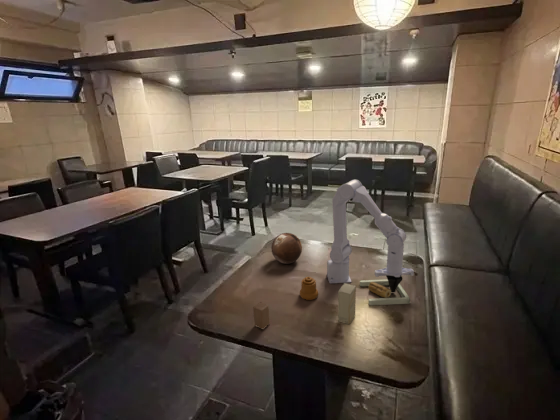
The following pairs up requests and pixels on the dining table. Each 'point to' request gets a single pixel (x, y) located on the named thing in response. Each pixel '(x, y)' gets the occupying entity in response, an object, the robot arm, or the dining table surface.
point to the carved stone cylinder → (379, 290)
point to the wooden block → (261, 315)
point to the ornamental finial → (308, 289)
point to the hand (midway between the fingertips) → (392, 291)
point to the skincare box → (346, 303)
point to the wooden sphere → (286, 248)
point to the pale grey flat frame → (386, 301)
